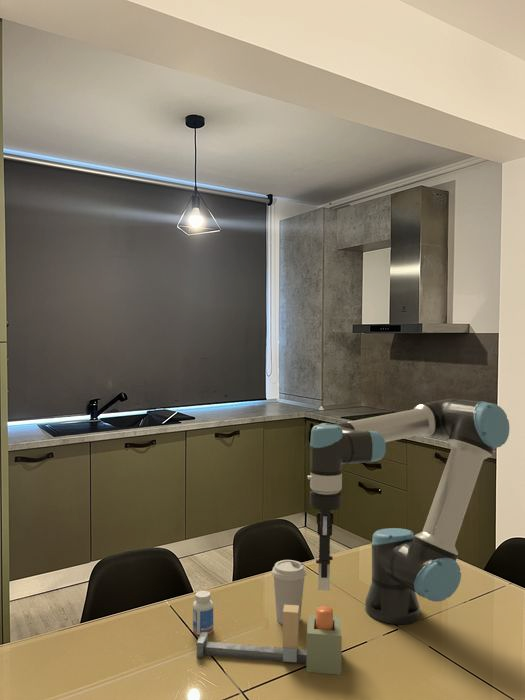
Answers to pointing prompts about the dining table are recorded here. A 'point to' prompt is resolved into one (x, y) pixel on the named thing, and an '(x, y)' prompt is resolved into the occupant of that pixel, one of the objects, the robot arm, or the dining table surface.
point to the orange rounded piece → (324, 618)
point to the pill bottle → (202, 613)
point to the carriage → (290, 632)
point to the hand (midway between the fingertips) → (323, 588)
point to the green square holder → (324, 647)
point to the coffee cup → (288, 585)
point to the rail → (243, 650)
